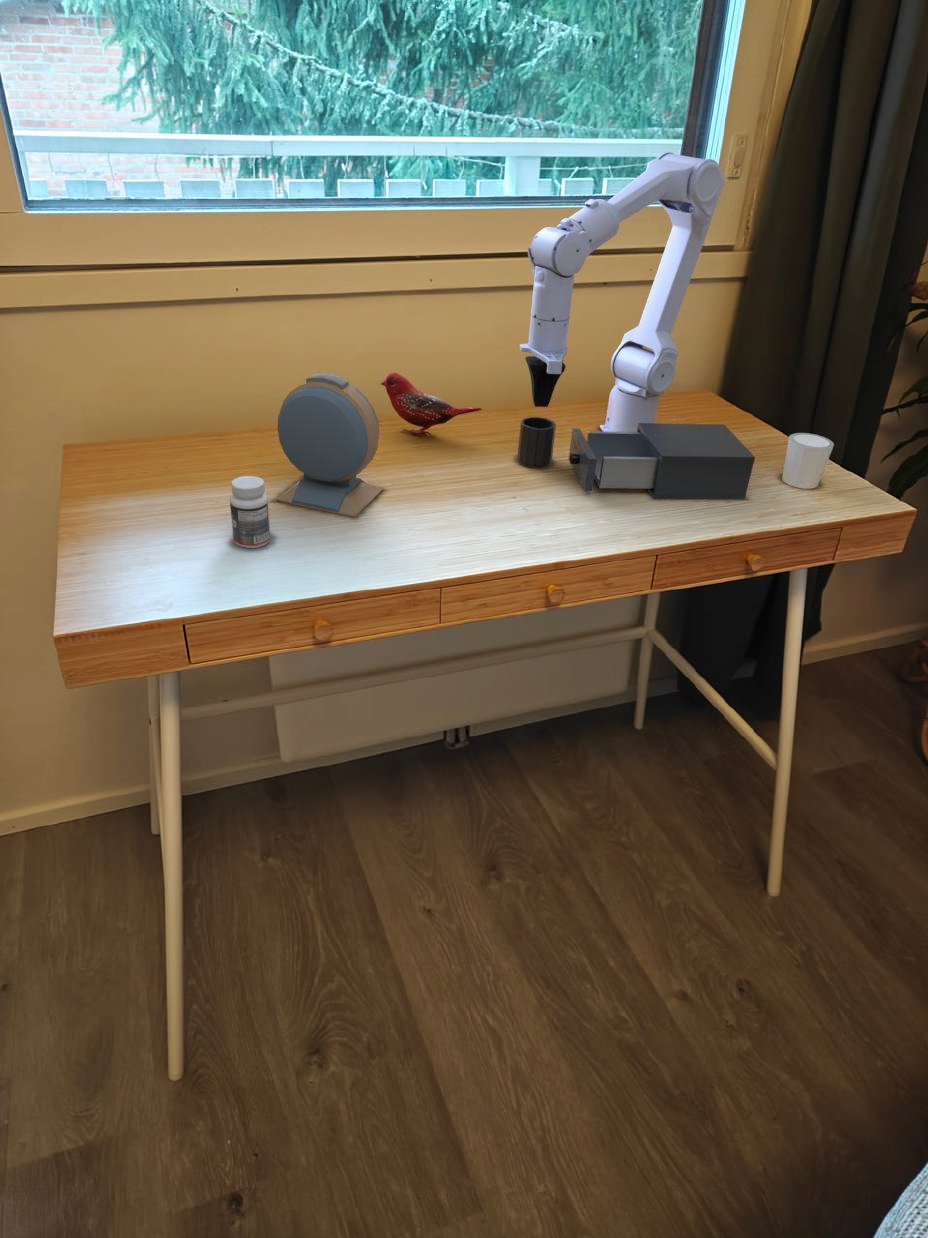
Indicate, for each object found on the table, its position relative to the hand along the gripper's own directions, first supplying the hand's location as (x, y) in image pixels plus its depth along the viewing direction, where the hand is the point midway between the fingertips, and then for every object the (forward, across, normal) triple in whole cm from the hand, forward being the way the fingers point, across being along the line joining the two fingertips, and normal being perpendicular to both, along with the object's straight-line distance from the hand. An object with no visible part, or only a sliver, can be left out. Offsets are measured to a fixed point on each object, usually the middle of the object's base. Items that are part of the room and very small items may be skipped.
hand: (540, 405), depth 139 cm
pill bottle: (+10, +27, -42) cm, 51 cm away
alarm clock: (+10, +13, -32) cm, 36 cm away
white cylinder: (+10, +7, +42) cm, 44 cm away
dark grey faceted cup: (+9, 0, 0) cm, 9 cm away
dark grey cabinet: (+9, +7, +23) cm, 26 cm away
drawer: (+9, +7, +11) cm, 16 cm away
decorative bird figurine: (+10, -10, -16) cm, 22 cm away
